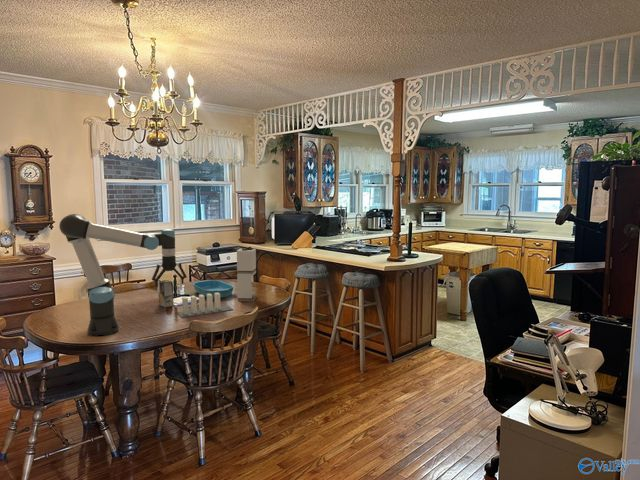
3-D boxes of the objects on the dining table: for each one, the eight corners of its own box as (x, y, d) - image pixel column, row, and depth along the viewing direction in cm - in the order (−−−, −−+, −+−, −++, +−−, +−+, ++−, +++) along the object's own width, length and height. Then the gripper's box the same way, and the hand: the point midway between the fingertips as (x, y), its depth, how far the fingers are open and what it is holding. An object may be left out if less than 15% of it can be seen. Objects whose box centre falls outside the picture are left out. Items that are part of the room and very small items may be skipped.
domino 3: (201, 312, 263) (200, 296, 262) (199, 310, 267) (198, 294, 266) (205, 311, 264) (204, 296, 263) (202, 309, 268) (202, 294, 267)
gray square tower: (253, 301, 291) (252, 250, 287) (237, 301, 291) (236, 250, 287) (256, 297, 302) (255, 248, 298) (241, 296, 303) (240, 248, 298)
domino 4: (209, 311, 265) (208, 295, 264) (207, 309, 270) (206, 293, 268) (212, 310, 266) (212, 295, 265) (210, 308, 271) (210, 293, 270)
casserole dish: (239, 296, 304) (238, 286, 304) (209, 301, 291) (209, 291, 290) (216, 287, 333) (216, 278, 332) (189, 291, 319) (188, 282, 318)
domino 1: (184, 314, 258) (184, 298, 256) (182, 312, 262) (182, 297, 261) (188, 314, 259) (187, 298, 258) (186, 312, 263) (185, 296, 262)
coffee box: (174, 305, 280) (173, 281, 278) (165, 307, 276) (164, 283, 274) (167, 303, 287) (166, 279, 285) (158, 304, 282) (157, 281, 280)
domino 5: (217, 309, 268) (216, 294, 267) (214, 308, 272) (214, 292, 271) (220, 309, 269) (220, 294, 268) (218, 307, 273) (217, 292, 272)
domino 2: (193, 313, 260) (192, 297, 259) (191, 311, 264) (190, 295, 263) (196, 313, 261) (196, 297, 260) (194, 311, 266) (194, 295, 264)
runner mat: (181, 318, 253) (181, 317, 253) (177, 313, 263) (176, 312, 263) (233, 310, 270) (233, 309, 270) (226, 305, 280) (226, 304, 280)
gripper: (148, 257, 242) (149, 294, 244) (191, 254, 255) (192, 289, 257) (145, 255, 248) (147, 291, 251) (188, 253, 261) (188, 287, 264)
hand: (169, 290), depth 254 cm, fingers open, 12 cm apart
